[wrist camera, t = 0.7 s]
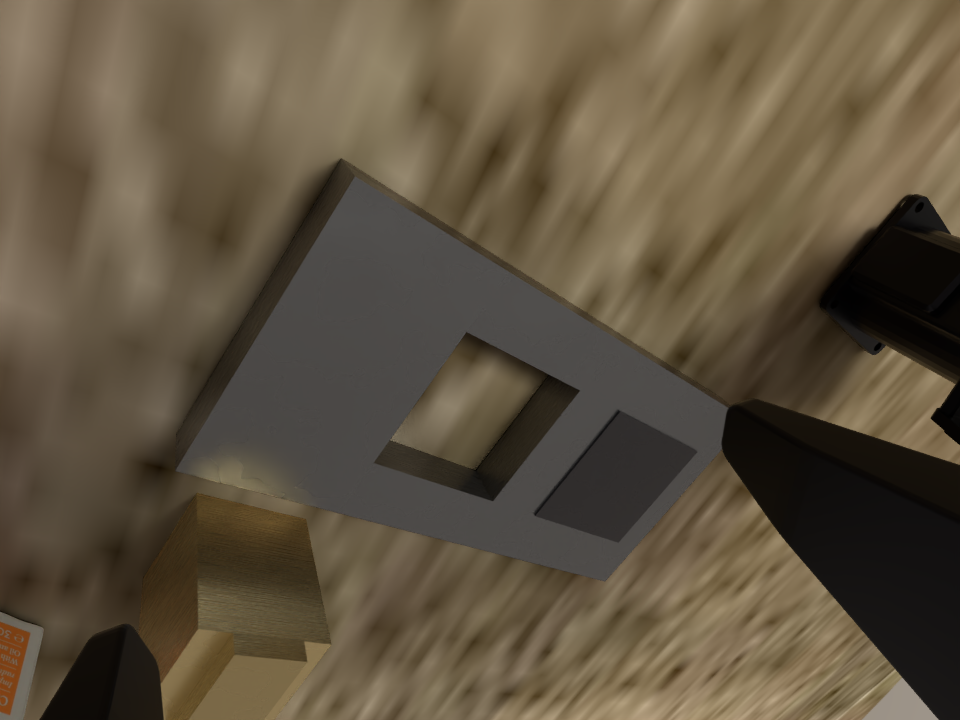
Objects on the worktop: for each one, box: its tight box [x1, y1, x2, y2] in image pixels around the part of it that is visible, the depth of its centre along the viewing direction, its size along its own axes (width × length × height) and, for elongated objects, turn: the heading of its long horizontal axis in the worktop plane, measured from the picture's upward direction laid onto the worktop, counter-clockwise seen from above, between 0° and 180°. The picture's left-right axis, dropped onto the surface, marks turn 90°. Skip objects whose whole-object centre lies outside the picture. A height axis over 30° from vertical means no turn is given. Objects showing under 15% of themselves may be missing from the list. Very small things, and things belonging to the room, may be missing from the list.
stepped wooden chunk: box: [139, 493, 331, 720], centre depth 22 cm, size 4×5×7 cm
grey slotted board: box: [175, 159, 730, 581], centre depth 26 cm, size 22×11×2 cm, turn 53°
